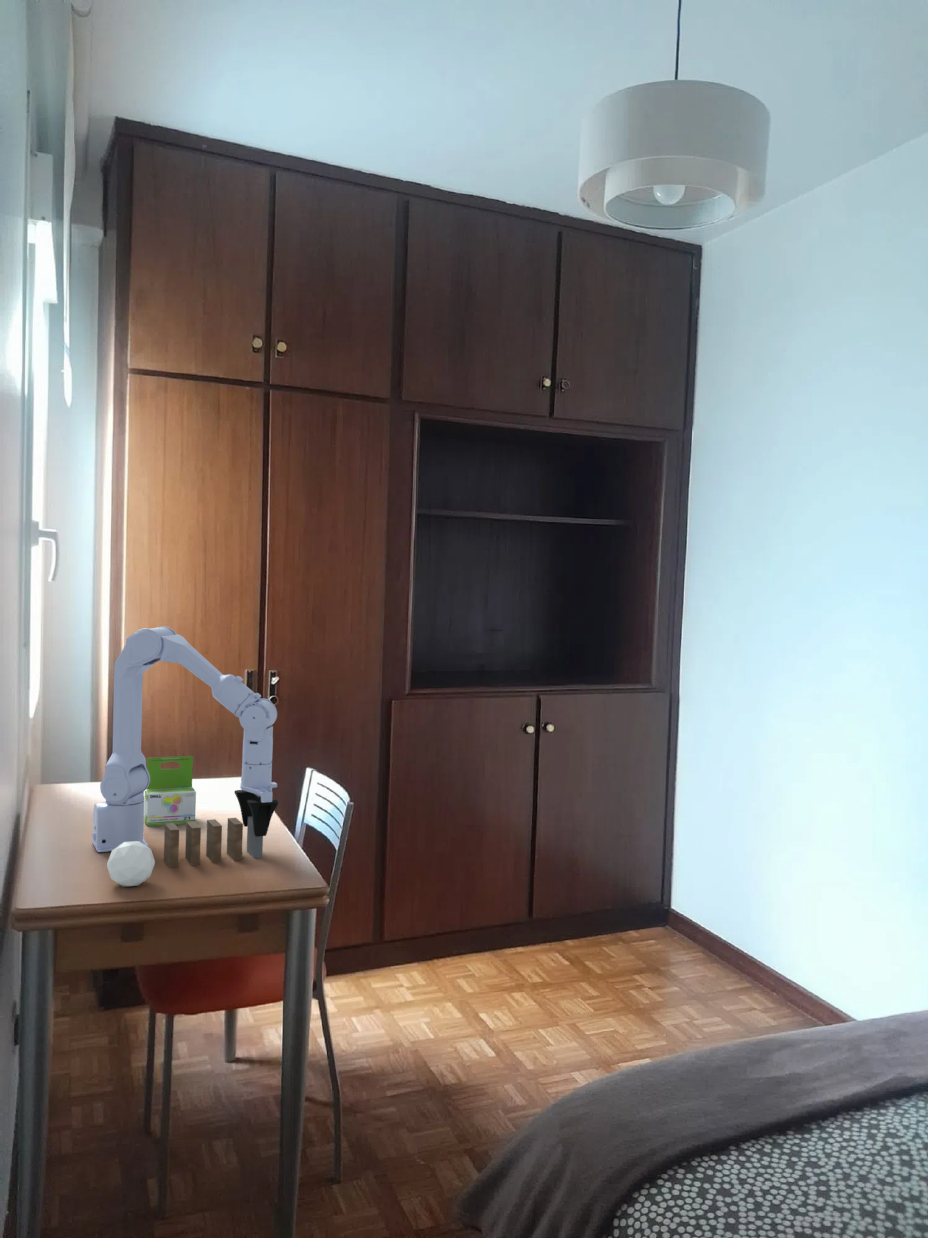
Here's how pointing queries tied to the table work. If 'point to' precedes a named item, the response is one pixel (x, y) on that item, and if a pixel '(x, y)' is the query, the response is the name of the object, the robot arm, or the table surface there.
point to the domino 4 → (234, 839)
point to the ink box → (170, 792)
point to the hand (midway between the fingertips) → (254, 830)
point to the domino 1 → (171, 845)
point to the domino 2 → (193, 842)
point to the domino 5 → (253, 841)
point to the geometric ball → (130, 863)
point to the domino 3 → (214, 841)
